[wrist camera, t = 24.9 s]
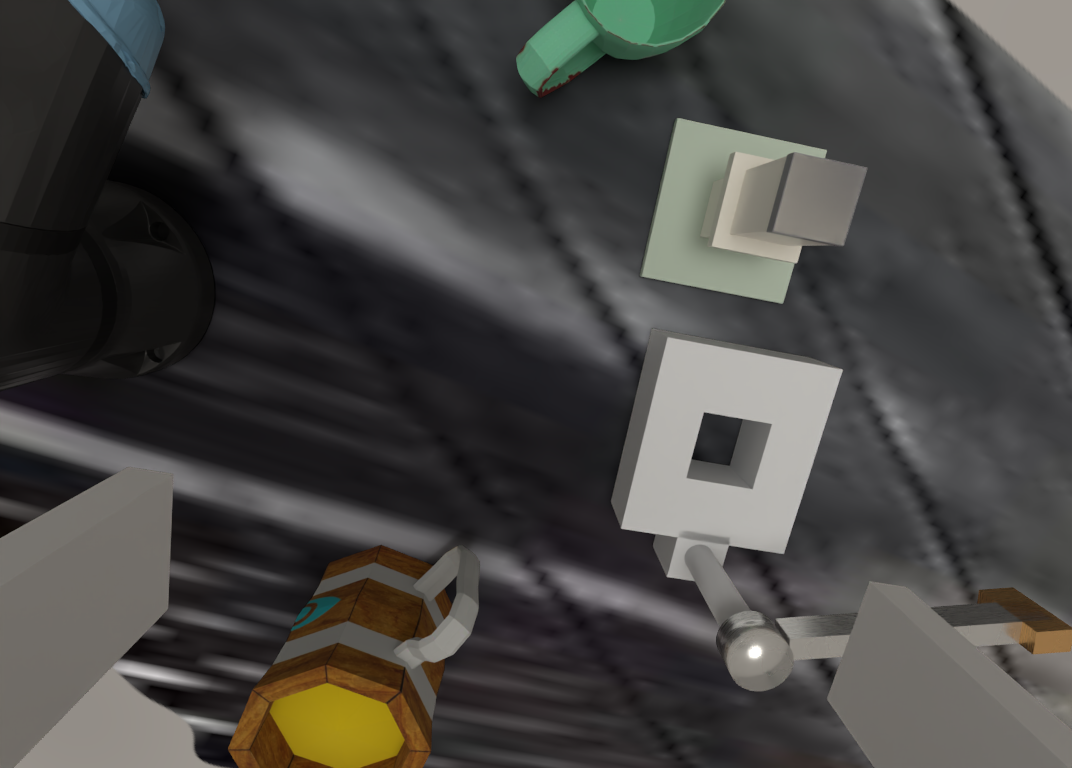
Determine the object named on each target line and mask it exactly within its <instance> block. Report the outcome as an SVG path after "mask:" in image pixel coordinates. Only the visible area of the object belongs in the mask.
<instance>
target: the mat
mask: <svg viewBox="0 0 1072 768" xmlns="http://www.w3.org/2000/svg"><path fill="white" fill-rule="evenodd" d="M733 152H740V153H745V154H750V155H754V156H759V157H764V158H768V159H773V160H777V159H780V158H783V157H785V156H787V154H790V153H793V152H797V153H801V154H806V155H811V156H815V157H820V158H825V156H826V152H827V150H823V149H819V148H814V147H809V146H805V145H800V144H796V143H791V142H786V141H782V140H777V139H772V138H768V137H763V136H759V135H754V134H749V133H745V132H740V131H735V130H731V129H726V128H722V127H717V126H712V125H708V124H703V123H698V122H694V121H689V120H684V119H680V118H677V119H676V120H675V122H674V126H673V131H672V135H671V139H670V144H669V148H668V153H667V157H666V162H665V166H664V170H663V175H662V179H661V184H660V188H659V192H658V197H657V201H656V206H655V210H654V215H653V219H652V223H651V228H650V232H649V237H648V241H647V246H646V250H645V254H644V259H643V263H642V268H641V272H640V276H642V277H647V278H652V279H657V280H662V281H668V282H673V283H678V284H683V285H688V286H694V287H699V288H704V289H709V290H714V291H720V292H725V293H730V294H735V295H740V296H746V297H751V298H756V299H761V300H766V301H772V302H777V303H782V304H783V302H784V298H785V295H786V291H787V288H788V284H789V281H790V277H791V274H792V270H793V267H794V263H788V262H783V261H778V260H773V259H768V258H763V257H758V256H753V255H748V254H743V253H738V252H733V251H728V250H723V249H718V248H713V247H707V244H708V240H709V238H705V237H700V234H701V230H702V226H703V222H704V218H705V214H706V210H707V206H708V202H709V198H710V193H711V189H712V185H713V182H714V181H717V180H720V179H723V178H724V176H725V172H726V168H727V164H728V160H729V156H730V154H731V153H733Z"/></svg>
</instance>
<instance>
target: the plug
mask: <svg viewBox="0 0 1072 768" xmlns="http://www.w3.org/2000/svg"><path fill="white" fill-rule="evenodd" d="M866 171H867V168H866V167H862V166H857V165H853V164H848V163H843V162H839V161H834V160H829V159H825V158H820V157H815V156H811V155H806V154H801V153H797V152H793V153H790V154H787V156H785V157H783V158H780V159H777V160H773V159H768V158H764V157H759V156H754V155H750V154H745V153H740V152H733V153H731V154H730V156H729V160H728V164H727V168H726V172H725V176H724V178H723V179H720V180H717V181H714V182H713V185H712V189H711V193H710V198H709V202H708V206H707V210H706V214H705V218H704V222H703V226H702V230H701V234H700V237H705V238H709V240H708V244H707V247H713V248H718V249H723V250H728V251H733V252H738V253H743V254H748V255H753V256H758V257H763V258H768V259H773V260H778V261H783V262H788V263H797V262H798V258H799V255H800V251H801V248H802V246H814V245H833V246H844V243H845V240H846V237H847V233H848V230H849V227H850V224H851V220H852V217H853V214H854V211H855V207H856V204H857V201H858V197H859V194H860V191H861V188H862V184H863V181H864V178H865V175H866Z"/></svg>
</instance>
